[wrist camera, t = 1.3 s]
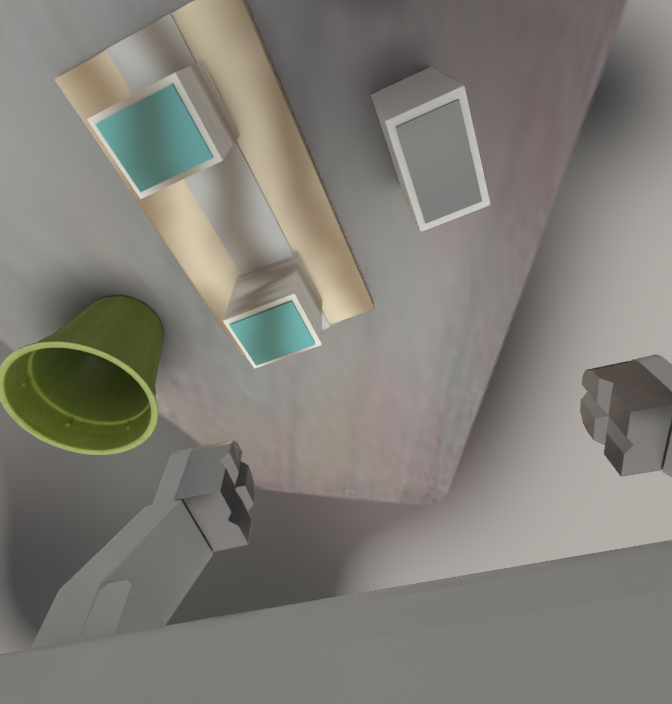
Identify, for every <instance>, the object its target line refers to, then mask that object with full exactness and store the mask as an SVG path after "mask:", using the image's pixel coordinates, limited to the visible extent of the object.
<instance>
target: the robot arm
mask: <svg viewBox="0 0 672 704" xmlns="http://www.w3.org/2000/svg"><path fill="white" fill-rule="evenodd" d="M582 385H583V386H584V388H585V389H586V390H587V391H588V392H587V393H586V394H585V396H584V397H583V398H582V399H581V410H580V412H581V416H582V420H583V424H584V426H585V428H586V430H587V432H588V433H589V435H590V436H591V437H592V438H593V440H595V441H597V442H599V443H602V444H604V445H605V449H604V455H605V456H606V457H607V459H608V460H609V461H610V463H611V464H612V465H613V466H614V468H615V469H616V471H617V472H618V473H619V474H620V476H628V475H634V474H640V473H647V472H653V471H659V470H663V472H664V473H665V474H667V475H669V476H671V477H672V364H671V363H669V362H668V361H667V360H666V359H664V358H663V357H662V356H659V355H651V356H647V357H642V358H638V359H633V360H631V361H626V362H621V363H617V364H612V365H607V366H603V367H597V368H592V369H587V370H585V372H584V374H583V380H582ZM241 456H242V451H241V449H240V447H239V445H238V443H237V442H236V441H228V442H222V443H217V444H211V445H205V446H200V447H195V448H190V449H185V450H179V451H175V452H174V453H173V454H171V456H170V458H169V460H168V463H167V466H166V469H165V471H164V474H163V477H162V479H161V482H160V485H159V488H158V490H157V493H156V496H155V499H154V501H153V504H152V505H151V506H146V507H145V508H144V509H143V510H142V511H141V512H140V513H139V514H138V515H137V516H136V517H135V518H133V520H131V522H129V523H128V524H127V525H126V526H125V527H124V528H123V529H122V530H121V531H120V532H119V533H118V534H117V535H116V536H115V537H114V538H113V539H112V540H111V541H110V542H109V543H108V544H107V545H106V546H104V548H102V549H101V550H100V551H99V552H98V553H97V554H96V555H95V556H94V557H93V558H92V559H91V560H90V561H89V562H88V563H87V564H86V565H85V566H84V567H83V568H82V569H81V570H80V571H79V572H78V573H77V574H75V575H74V577H72V578H71V579H70V580H69V581H68V582H67V583H66V584H65V585H64V586H63V587H62V588H61V589H60V590H59V592H58V594H57V596H56V598H55V600H54V602H53V604H52V606H51V608H50V610H49V612H48V614H47V616H46V619H45V621H44V623H43V625H42V627H41V629H40V631H39V633H38V635H37V637H36V639H35V641H34V643H33V645H32V647H31V649H28V650H21V651H16V652H10V653H4V654H0V704H672V540H669V541H663V542H657V543H652V544H645V545H639V546H633V547H628V548H622V549H616V550H610V551H604V552H598V553H592V554H587V555H581V556H575V557H569V558H563V559H557V560H551V561H545V562H540V563H534V564H528V565H522V566H516V567H511V568H504V569H499V570H492V571H487V572H481V573H475V574H469V575H463V576H457V577H451V578H445V579H440V580H434V581H428V582H422V583H416V584H410V585H404V586H398V587H392V588H387V589H380V590H374V591H369V592H363V593H357V594H351V595H345V596H339V597H333V598H327V599H321V600H315V601H310V602H304V603H298V604H292V605H286V606H280V607H275V608H269V609H263V610H257V611H251V612H245V613H239V614H234V615H227V616H221V617H216V618H210V619H204V620H198V621H192V622H186V623H180V624H174V625H169V626H165V624H166V623H167V622H168V620H169V618H170V617H171V615H172V614H173V613H174V611H175V609H176V608H177V607H178V605H179V604H180V602H181V601H182V599H183V598H184V596H185V595H186V593H187V592H188V590H189V589H190V587H191V586H192V584H193V583H194V581H195V580H196V578H197V577H198V576H199V574H200V573H201V571H202V570H203V568H204V567H205V565H206V564H207V562H208V561H209V559H210V558H211V556H212V555H213V552H214V551H219V550H224V549H228V548H232V547H238V546H242V545H247V544H248V541H249V534H250V527H251V518H250V516H249V513H248V510H249V509H250V508H251V506H252V505H253V504H254V495H255V490H254V480H253V476H252V473H251V470H250V468H249V466H248V465H247V464H245V463H244V462H242V461H241Z"/></svg>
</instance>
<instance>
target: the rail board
mask: <svg viewBox="0 0 672 704" xmlns="http://www.w3.org/2000/svg"><path fill="white" fill-rule="evenodd" d="M55 81H56V82H57V84H58V85H59V87H60V88H61V90H62V91H63V93H64V94H65V96H66V97H67V99H68V100H69V101H70V103H71V104H72V106H73V107H74V109H75V110H76V112H77V113H78V115H79V116H80V118H81V119H82V121H83V122H84V124H85V125H86V126H87V128H88V129H89V131H90V132H91V134H92V135H93V137H94V138H95V140H96V141H97V143H98V144H99V146H100V147H101V149H102V150H103V152H104V153H105V154H106V156H107V157H108V159H109V160H110V162H111V163H112V165H113V166H114V168H115V169H116V171H117V172H118V174H119V175H120V177H121V178H122V179H123V181H124V182H125V184H126V185H127V187H128V188H129V190H130V191H131V193H132V194H133V196H134V197H135V199H136V200H137V202H138V203H139V204H140V206H141V207H142V209H143V210H144V212H145V213H146V215H147V216H148V218H149V219H150V221H151V222H152V224H153V225H154V227H155V228H156V229H157V231H158V232H159V234H160V235H161V237H162V238H163V240H164V241H165V243H166V244H167V246H168V247H169V249H170V250H171V252H172V253H173V255H174V256H175V257H176V259H177V260H178V262H179V263H180V265H181V266H182V268H183V269H184V271H185V272H186V274H187V275H188V277H189V278H190V280H191V281H192V282H193V284H194V285H195V287H196V288H197V290H198V291H199V293H200V294H201V296H202V297H203V299H204V300H205V302H206V303H207V305H208V306H209V307H210V309H211V310H212V312H213V313H214V315H215V316H216V318H217V319H218V321H219V322H220V324H221V325H222V327H223V328H224V330H225V331H226V332H227V334H228V335H229V337H230V338H231V340H232V341H233V343H234V344H235V346H236V347H237V349H238V350H239V352H240V353H241V355H242V356H245V355H246V356H247V358H248V359H249V361H250V362H251V364H252V365H253V367H254V368H258V367H260V366H263V365H266V364H269V363H272V362H275V361H277V360H280V359H283V358H286V357H289V356H292V355H294V354H297V353H300V352H303V351H306V350H309V349H311V348H314V347H317V346H320V345H322V330H323V329H326V328H329V327H330V325H331V324H333V323H336V322H339V321H342V320H345V319H347V318H350V317H353V316H356V315H358V314H361V313H364V312H367V311H369V310H372V309H375V308H374V303H373V300H372V298H371V295H370V293H369V291H368V288H367V286H366V284H365V281H364V279H363V276H362V274H361V272H360V269H359V267H358V265H357V262H356V260H355V258H354V255H353V253H352V251H351V248H350V246H349V244H348V241H347V239H346V237H345V234H344V232H343V230H342V227H341V225H340V223H339V220H338V218H337V216H336V213H335V211H334V209H333V206H332V204H331V201H330V199H329V197H328V194H327V192H326V190H325V187H324V185H323V183H322V180H321V178H320V176H319V173H318V171H317V169H316V166H315V164H314V162H313V159H312V157H311V155H310V152H309V150H308V148H307V145H306V143H305V141H304V138H303V136H302V134H301V131H300V129H299V126H298V124H297V122H296V119H295V117H294V115H293V112H292V110H291V108H290V105H289V103H288V101H287V98H286V96H285V94H284V91H283V89H282V87H281V84H280V82H279V80H278V77H277V75H276V73H275V70H274V68H273V66H272V63H271V61H270V59H269V56H268V54H267V51H266V49H265V47H264V44H263V42H262V40H261V37H260V35H259V33H258V30H257V28H256V26H255V23H254V21H253V19H252V16H251V14H250V12H249V9H248V7H247V5H246V2H245V0H194V1H192V2H190V3H188V4H187V5H185V6H183V7H181V8H180V9H178V10H176V11H174V12H173V13H169V14H167V15H166V16H164V17H162V18H160V19H159V20H157V21H155V22H153V23H151V24H150V25H148V26H146V27H144V28H143V29H141V30H139V31H137V32H136V33H134V34H132V35H130V36H128V37H127V38H125V39H123V40H121V41H120V42H118V43H116V44H114V45H113V46H111V47H109V48H107V49H106V50H105V51H103V52H102V53H100V54H98V55H96V56H95V57H93V58H91V59H89V60H87V61H86V62H84V63H82V64H80V65H79V66H77V67H75V68H73V69H72V70H70V71H68V72H66V73H64V74H63V75H61V76H59V77H57V78H56V79H55Z"/></svg>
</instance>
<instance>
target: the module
mask: <svg viewBox="0 0 672 704" xmlns="http://www.w3.org/2000/svg"><path fill="white" fill-rule="evenodd" d="M371 98H372V101H373V104H374V107H375V110H376V113H377V116H378V119H379V122H380V125H381V128H382V131H383V134H384V137H385V140H386V143H387V146H388V149H389V152H390V155H391V159H392V162H393V165H394V168H395V171H396V174H397V177H398V180H399V183H400V186H401V188H402V190H403V193H404V195H405V197H406V200H407V202H408V204H409V206H410V209H411V211H412V213H413V216H414V218H415V220H416V223H417V225H418V227H419V230H420V232H422V231H425V230H427V229H430V228H432V227H435V226H437V225H440V224H443V223H445V222H448V221H450V220H453V219H455V218H458V217H461V216H463V215H466V214H468V213H471V212H473V211H476V210H478V209H481V208H484V207H486V206H489V205H490V201H489V196H488V192H487V187H486V182H485V178H484V173H483V169H482V164H481V159H480V155H479V150H478V146H477V141H476V137H475V132H474V127H473V123H472V118H471V114H470V109H469V104H468V100H467V95H466V91H465V86H464V85H463V84H461V83H459V82H457V81H455V80H453V79H452V78H450V77H448V76H446V75H444V74H442V73H440V72H439V71H437V70H435V69H433V68H431V67H429V68H427V69H425V70H422V71H420V72H418V73H416V74H414V75H412V76H410V77H407V78H405V79H403V80H401V81H399V82H397V83H395V84H392V85H390V86H388V87H386V88H384V89H382V90H380V91H378V92H375V93H373V94H371Z"/></svg>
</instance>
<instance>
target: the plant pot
mask: <svg viewBox="0 0 672 704" xmlns="http://www.w3.org/2000/svg"><path fill="white" fill-rule="evenodd" d="M163 336H164V333H163V329H162V326H161V323H160V321H159V318H158V316H157V315H156V314H155V313H154V312H153V311H152V310H151V309H150V308H149V307H148V306H146V305H145V304H143V303H142V302H140V301H138V300H135V299H133V298H130V297H125V296H115V297H104V298H101V299H99V300H97V301H96V302H94V303H93V304H92V305H90V306H89V307H88V308H86V309H85V310H84V311H82V312H81V313H80V314H78V315H77V316H76V317H75V318H73V319H72V320H71V321H69V322H68V323H67V324H66V325H64V326H63V327H62V328H60V329H59V330H58V331H56V332H55V333H54V334H52V335H51V336H48V337H46V338H44V339H42V340H40V341H39V342H38V343H33V344H30V345H27V346H24V347H22V348H20V349H18V350H16V351H14V352H13V353H11V354H10V355H9V356H8V357H7V358H6V359H5V360H4V361H3V362H2V364H1V366H0V401H1V402H2V404H3V406H4V408H5V409H6V411H7V412H8V413H9V415H10V416H11V417H12V418H13V419H14V420H15V421H16V422H17V423H18V424H19V425H20V426H21V427H22V428H23V429H25V430H26V431H28V432H29V433H31V434H32V435H34V436H35V437H37V438H39V439H40V440H42V441H44V442H47V443H49V444H51V445H53V446H56V447H59V448H61V449H65V450H68V451H72V452H77V453H83V454H93V455H105V454H114V453H120V452H124V451H127V450H129V449H132V448H134V447H136V446H138V445H140V444H141V443H143V442H144V441H145V440H146V439H147V438H148V437H149V436H150V435H151V434H152V432H153V430H154V428H155V426H156V423H157V418H158V406H157V402H156V398H155V395H156V389H155V382H156V376H157V370H158V365H159V359H160V354H161V348H162V343H163Z"/></svg>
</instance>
